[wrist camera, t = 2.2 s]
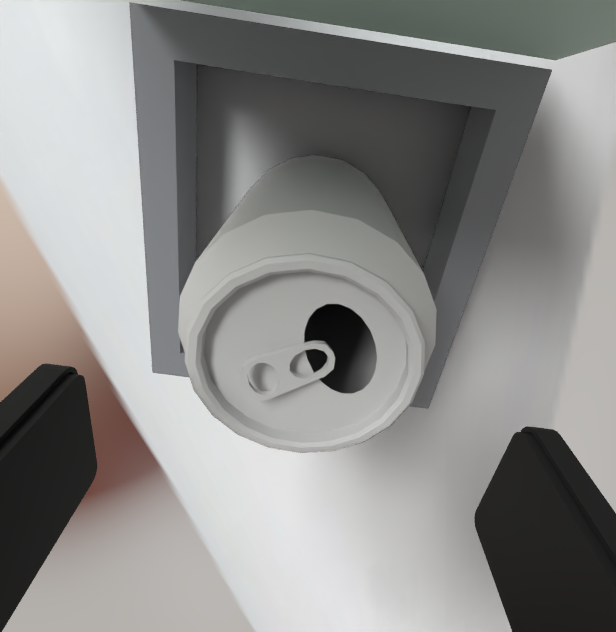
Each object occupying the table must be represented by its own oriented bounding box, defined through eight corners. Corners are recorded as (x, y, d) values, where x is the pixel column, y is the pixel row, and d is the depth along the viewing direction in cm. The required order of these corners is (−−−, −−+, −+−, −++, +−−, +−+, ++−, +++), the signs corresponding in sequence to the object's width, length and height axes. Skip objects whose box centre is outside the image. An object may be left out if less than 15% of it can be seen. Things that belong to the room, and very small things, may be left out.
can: (400, 278, 22) (468, 451, 12) (267, 309, 23) (221, 492, 13) (372, 131, 19) (432, 188, 8) (218, 177, 20) (100, 278, 9)
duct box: (160, 15, 17) (129, 2, 14) (517, 72, 17) (552, 70, 15) (170, 342, 25) (152, 372, 22) (417, 374, 25) (428, 408, 22)
